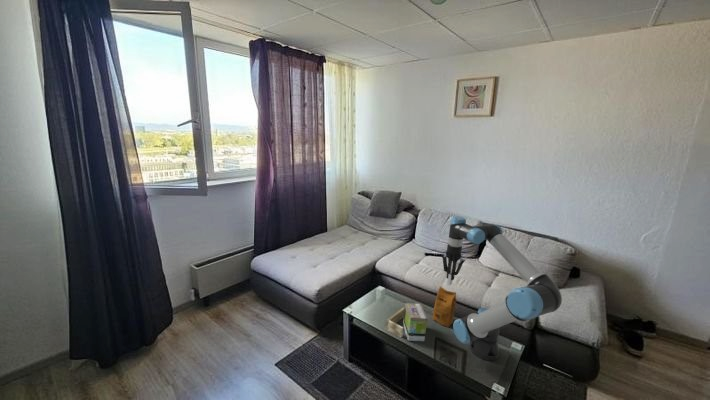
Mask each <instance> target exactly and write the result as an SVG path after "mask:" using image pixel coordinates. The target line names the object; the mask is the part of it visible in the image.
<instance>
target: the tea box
mask: <svg viewBox="0 0 710 400" xmlns="http://www.w3.org/2000/svg"><path fill="white" fill-rule="evenodd" d="M404 308H405V310H404V317H403V318H402V327H403V331H404V332H405V336H406V338H407V341H408V342H409V341H410V342H425V341H426V340H425V339H426V333H427V332H426V330H427V327H428V325H427V324H428V317H427V315H426V312H425V310H424V307H423V306H422V304H421V303H408V302H405V304H404Z"/></svg>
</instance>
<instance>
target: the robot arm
mask: <svg viewBox="0 0 710 400" xmlns="http://www.w3.org/2000/svg"><path fill="white" fill-rule="evenodd" d="M503 233H504V231H503V229H502V227H501V226H500V225H499V224H493V223H491V224H484V225H470V224H467V219H466V218H465V217H463V216H452V217H451V219H450V223H449V233H448V238H447V245H446V252H443V253H441V255H440V256H441V258H442V264H443V265H442V266H443V271H444V272H445V273H446V279H447V283H446V285H447V286H449V287H450V286H451V285H452V284H453V281H454V279H455V276H457V275H459V274H460V271H461V269H462V266H463V264H464V263H465V262H466V259H465V258H464V259H463V257H462V252H463V251H462V249H463V242H464V240H466V241H468V242H470V243H473V244H475V245H480V244H481V243H483V242H484V241H487V242H488V243H490V245H491V246H492V247H493V248H494V249H495V250H496V251H497V252H498V253H499V255H501V256H502V258H503V259H504V260H505V261H506V262H507V263H508V264H509V265H510V267H511V268H513V270H514V271H515V272H516V273H517V274H518V275H519V276H520V277H521V278H522V279H523V280H524V282H525V283H526V285H527V286H521V287H516V288H514V289H513V290H511V291H509V292H508V294H507V295H506V296H505V300H503V301H502V302H500V303H498V304H496V305H493V306H492V307H490V308H487V307H486V308H485V307H480V308H479V309H478V310H477V313H476V312H475V313H470V314H468V315H466V316H464V317H461V318H457V319H455V320H453V323H452V324H453V325H452V326H453V327H452V328H453V333H454V335H455V337H456V339H457V340H458V341H459V342H460V343H461V344H465V345H467V344H468V349H469V350H470V352H471V353H472V354H473V355H475V356H476V357H477V358H480V359H482V360H485V361H496V360H498V358H499V357H500V348H499V342H498V341H499V336H500V331H501V327H504V326H506V325H509V324H511V323H513V322H516V321H519V322H528V321H530V320H533V319H535V318H537V317H540V316H543V315H546V314H547V315H548V314H550V313H551V314H552V313H553V312H556V311H557V310H558V309H560V308H561V306H562V303H563V300H562V299H563V298H562V294H561V291H560V289H559V287H558V285H557V284H556V283H555V282H554V280H552V278H551V277H550V276H548V274H546V273H543V272H541V271H540V270H539V269H538V268H537V267H536V266H535V265H534V264H533V263H532V262H531V261H530V260H529V259H528V258H527V257H526V256H525V255H524V254H523V253H522V252H521V251H520V250H519V248H517V247H516V246H515V245H514V244H513V243H512V242H511V241H510V240H509V239H508V238H507V237H506V236H505V235H503ZM457 262H459V264H458V265H457Z"/></svg>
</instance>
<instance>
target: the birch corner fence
mask: <svg viewBox="0 0 710 400" xmlns="http://www.w3.org/2000/svg"><path fill="white" fill-rule="evenodd" d="M404 310H405V306H404V307H403V306H402V307H401V308H400V309H398V310H397V311H396V312H395V313H394V314H392V315H391V316H389V318H387V319H386V320H385V328H384V329H385V330H387V331H388V332H390V333H391V334H394V335H395V336H397V337H399V338H403V335H404V326H403V325H402V326H401V325H400V324H398V322H399V321H401V320H403V319H404Z"/></svg>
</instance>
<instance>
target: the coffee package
mask: <svg viewBox="0 0 710 400" xmlns="http://www.w3.org/2000/svg"><path fill="white" fill-rule="evenodd" d="M456 305H457V292H454V291H451V290H450V291H448V290H446V289H445V288H444V287H443V286H439V287H438V291H437V294H436V298H435V301H434V307H433V312H432V321H435V322H437V323H438V324H439V325H441V326H443V327H444V326H445V327H447V328H449V327H450V326H451V325H452V324H453V323H454V317H455V311H456V310H455V309H456Z"/></svg>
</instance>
